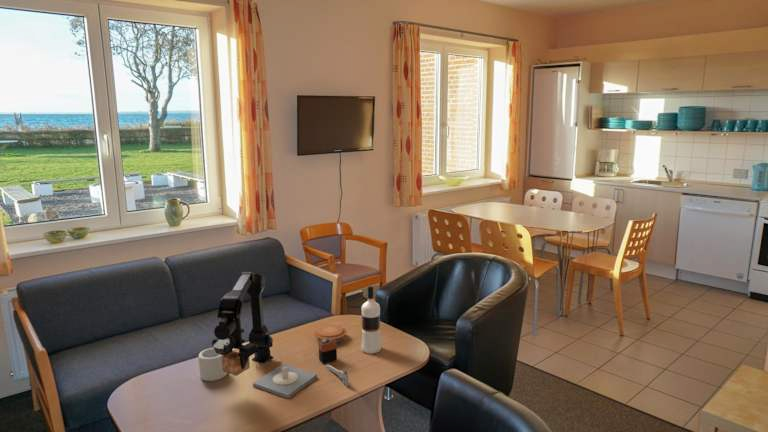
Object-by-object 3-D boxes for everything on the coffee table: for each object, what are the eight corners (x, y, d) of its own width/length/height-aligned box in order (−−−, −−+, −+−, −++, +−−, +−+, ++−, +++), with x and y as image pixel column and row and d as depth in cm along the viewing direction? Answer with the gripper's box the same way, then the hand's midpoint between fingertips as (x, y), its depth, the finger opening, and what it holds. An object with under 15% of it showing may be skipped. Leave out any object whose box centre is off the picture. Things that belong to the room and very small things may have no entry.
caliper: (348, 387, 205) (348, 372, 204) (346, 388, 205) (346, 373, 203) (326, 365, 222) (326, 352, 221) (324, 366, 222) (324, 352, 220)
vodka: (367, 356, 230) (365, 291, 224) (357, 348, 238) (356, 285, 232) (385, 351, 234) (384, 287, 228) (375, 343, 242) (374, 282, 236)
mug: (232, 374, 215) (230, 352, 213) (208, 384, 208) (206, 361, 206) (215, 364, 225) (213, 342, 222) (192, 373, 217) (190, 351, 215)
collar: (222, 371, 197) (221, 356, 196) (236, 363, 203) (235, 349, 202) (236, 375, 194) (234, 361, 193) (249, 367, 200) (248, 353, 198)
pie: (338, 348, 238) (337, 338, 237) (308, 343, 243) (307, 333, 242) (352, 335, 252) (351, 325, 251) (323, 330, 257) (322, 321, 256)
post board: (253, 386, 206) (252, 372, 205) (283, 367, 221) (282, 353, 220) (288, 398, 197) (287, 384, 196) (317, 377, 212) (316, 364, 211)
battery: (318, 360, 227) (318, 339, 225) (333, 356, 230) (332, 335, 228) (322, 364, 223) (322, 342, 221) (337, 360, 226) (336, 339, 224)
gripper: (198, 331, 193) (202, 369, 196) (235, 341, 184) (238, 382, 187) (222, 320, 202) (225, 357, 206) (257, 330, 193) (260, 369, 196)
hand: (236, 366), depth 198 cm, fingers closed on collar, 7 cm apart
